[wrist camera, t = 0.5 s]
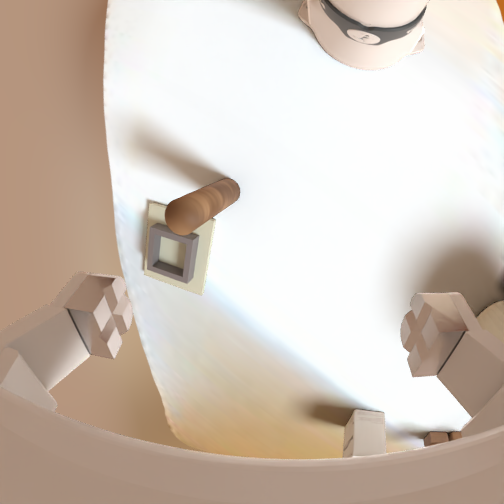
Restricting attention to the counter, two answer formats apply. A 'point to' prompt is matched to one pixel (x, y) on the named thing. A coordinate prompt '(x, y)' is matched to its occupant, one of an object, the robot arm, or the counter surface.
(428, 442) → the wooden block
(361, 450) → the supplement box
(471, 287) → the counter surface
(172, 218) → the walnut dowel
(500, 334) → the canister
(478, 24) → the counter surface
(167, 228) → the dowel holder
